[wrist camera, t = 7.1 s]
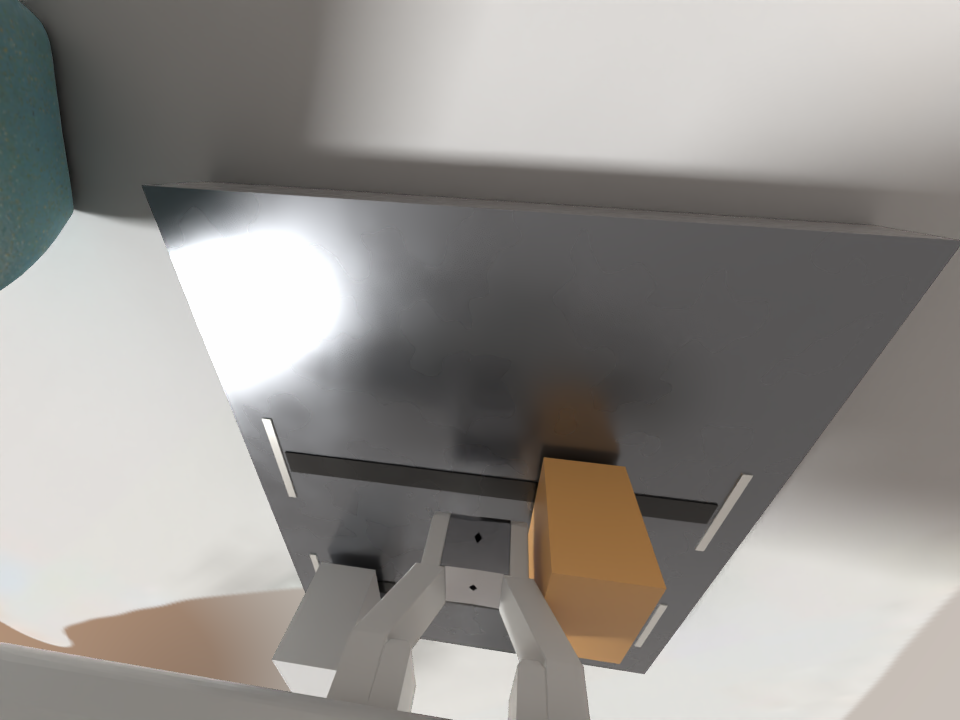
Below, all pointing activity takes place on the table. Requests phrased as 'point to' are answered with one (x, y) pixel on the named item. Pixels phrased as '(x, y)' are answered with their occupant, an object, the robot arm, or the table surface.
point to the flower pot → (29, 144)
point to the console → (527, 363)
